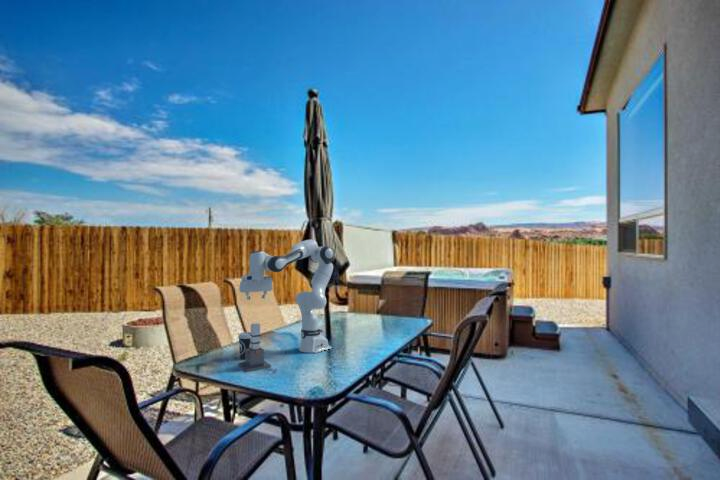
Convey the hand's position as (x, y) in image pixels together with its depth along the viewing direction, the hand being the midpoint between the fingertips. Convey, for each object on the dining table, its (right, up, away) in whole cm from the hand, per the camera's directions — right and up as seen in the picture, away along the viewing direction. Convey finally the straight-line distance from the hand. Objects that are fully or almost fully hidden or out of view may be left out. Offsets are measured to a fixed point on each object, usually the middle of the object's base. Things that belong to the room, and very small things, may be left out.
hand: (256, 298), depth 224 cm
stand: (+4, -36, -16) cm, 40 cm away
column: (+4, -28, -16) cm, 33 cm away
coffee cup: (-7, -37, 0) cm, 37 cm away
